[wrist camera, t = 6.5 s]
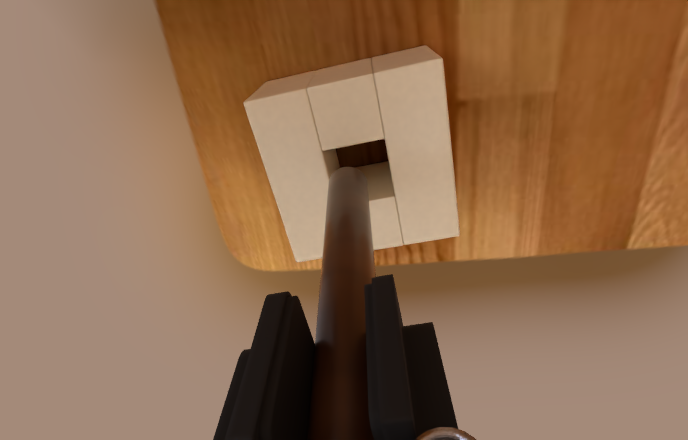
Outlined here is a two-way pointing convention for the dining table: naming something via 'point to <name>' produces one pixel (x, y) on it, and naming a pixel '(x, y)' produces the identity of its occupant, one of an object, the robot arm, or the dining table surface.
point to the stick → (343, 314)
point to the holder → (355, 128)
